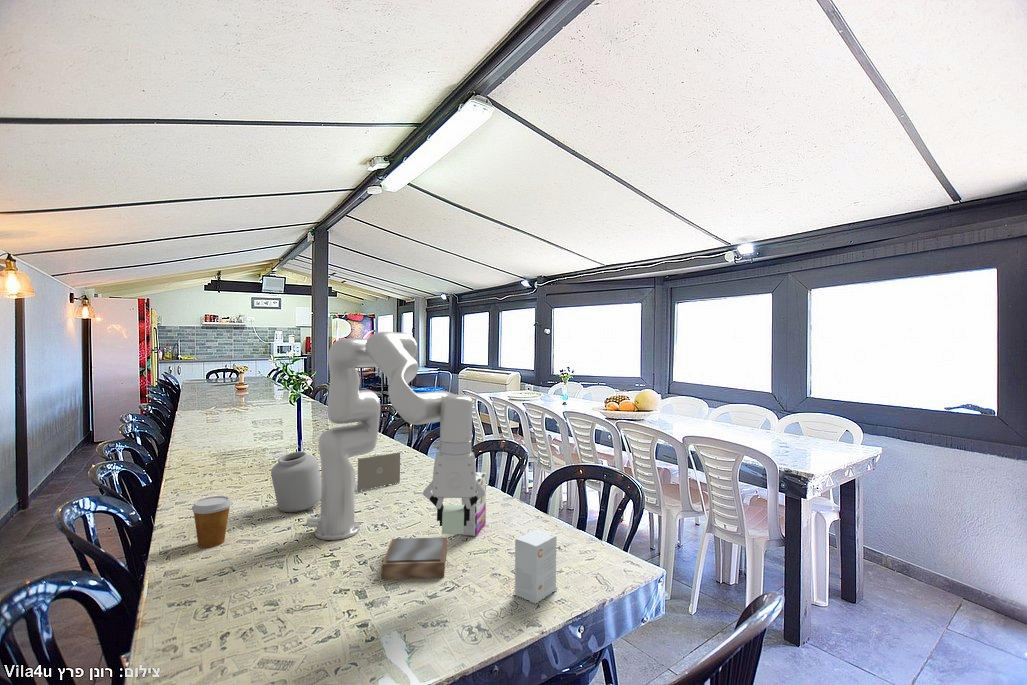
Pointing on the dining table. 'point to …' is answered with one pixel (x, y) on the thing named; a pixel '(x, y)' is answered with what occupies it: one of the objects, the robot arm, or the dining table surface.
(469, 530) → the candy bar box
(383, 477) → the laptop
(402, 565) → the walnut base
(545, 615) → the dining table surface
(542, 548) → the small box
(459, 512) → the sage cube
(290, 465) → the jar
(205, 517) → the disposable coffee cup
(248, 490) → the dining table surface
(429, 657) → the dining table surface
